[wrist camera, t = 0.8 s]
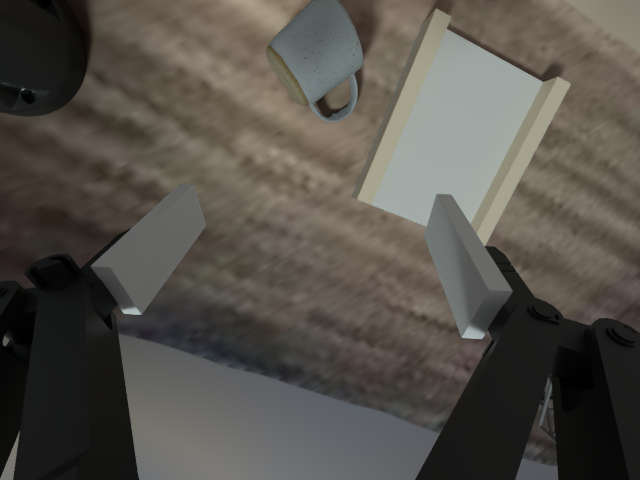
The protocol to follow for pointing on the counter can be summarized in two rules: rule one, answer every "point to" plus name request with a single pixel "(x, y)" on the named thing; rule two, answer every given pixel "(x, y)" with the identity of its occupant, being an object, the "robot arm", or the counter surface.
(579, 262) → the counter surface
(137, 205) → the counter surface
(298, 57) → the ceramic mug
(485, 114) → the rail tray
